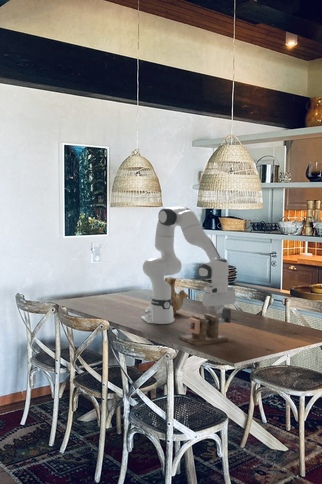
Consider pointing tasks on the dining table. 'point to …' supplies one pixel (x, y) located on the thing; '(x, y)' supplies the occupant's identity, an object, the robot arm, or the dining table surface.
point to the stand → (205, 332)
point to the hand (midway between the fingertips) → (219, 313)
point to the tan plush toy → (176, 295)
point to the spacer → (197, 326)
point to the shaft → (225, 319)
